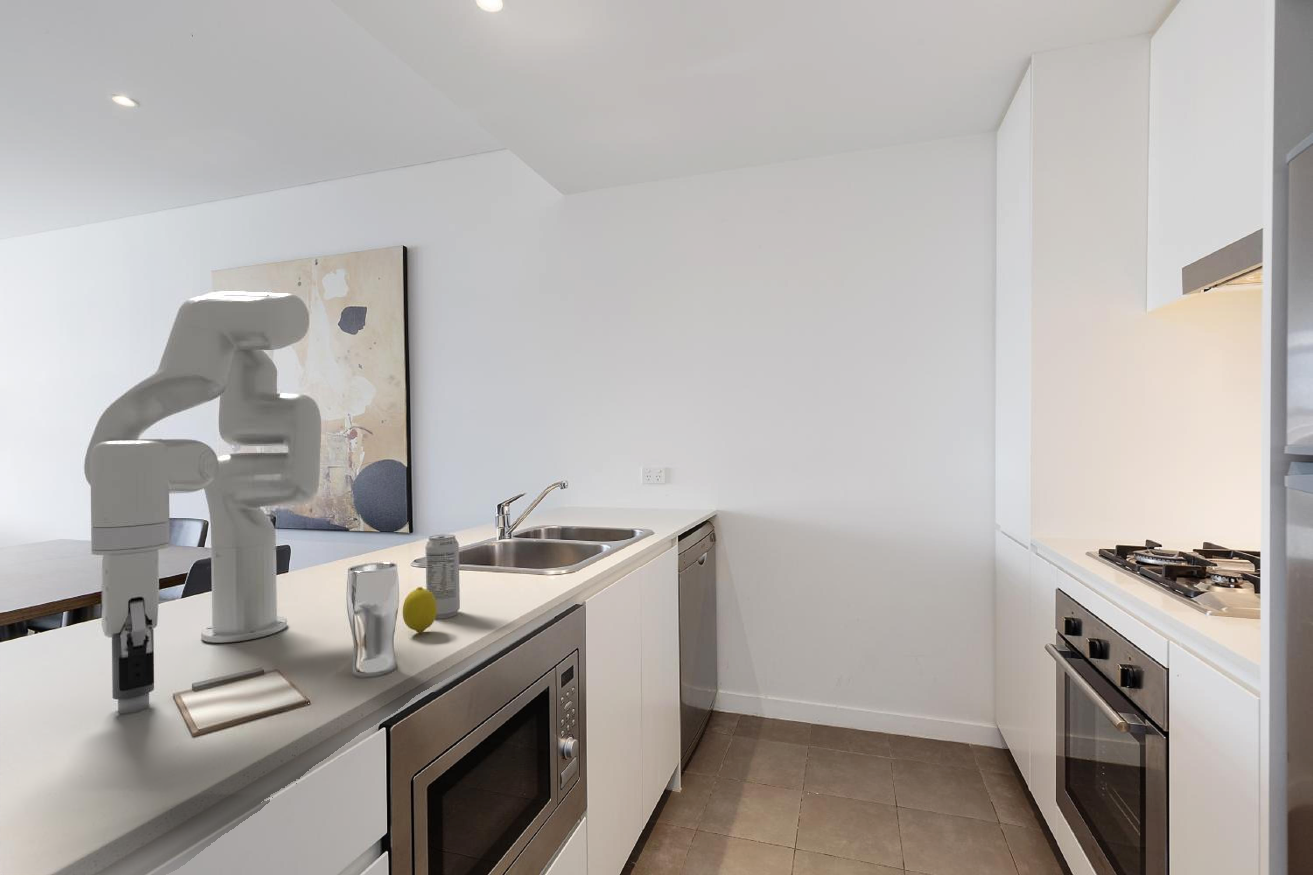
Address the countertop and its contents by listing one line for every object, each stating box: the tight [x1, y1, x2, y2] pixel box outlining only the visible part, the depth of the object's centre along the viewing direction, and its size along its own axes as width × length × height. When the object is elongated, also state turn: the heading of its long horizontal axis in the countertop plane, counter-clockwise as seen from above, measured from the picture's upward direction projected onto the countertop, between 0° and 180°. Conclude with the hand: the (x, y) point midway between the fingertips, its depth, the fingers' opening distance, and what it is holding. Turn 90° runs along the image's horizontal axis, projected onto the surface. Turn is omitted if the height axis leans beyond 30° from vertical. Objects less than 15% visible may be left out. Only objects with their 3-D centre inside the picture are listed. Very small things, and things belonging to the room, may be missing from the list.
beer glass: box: [345, 561, 400, 679], centre depth 89 cm, size 7×7×15 cm
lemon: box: [402, 586, 437, 634], centre depth 106 cm, size 6×6×8 cm
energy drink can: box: [425, 534, 461, 619], centre depth 117 cm, size 6×6×15 cm
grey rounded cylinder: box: [111, 611, 155, 715], centre depth 77 cm, size 4×4×12 cm
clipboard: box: [172, 666, 311, 738], centre depth 79 cm, size 16×12×1 cm
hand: (133, 677), depth 77 cm, fingers open, 7 cm apart
